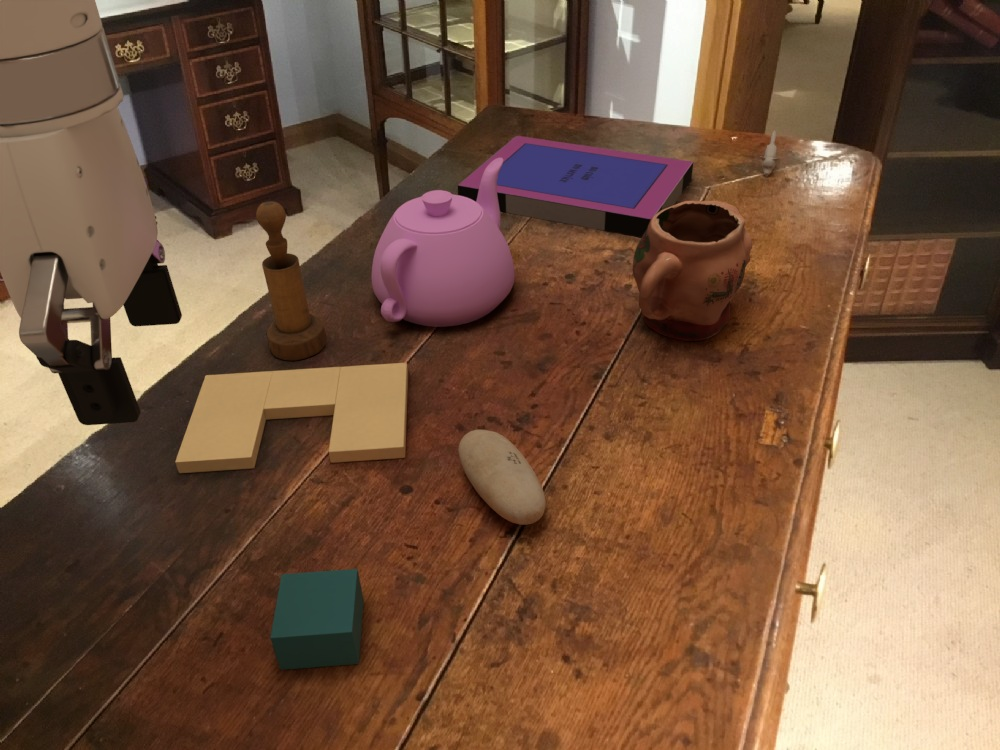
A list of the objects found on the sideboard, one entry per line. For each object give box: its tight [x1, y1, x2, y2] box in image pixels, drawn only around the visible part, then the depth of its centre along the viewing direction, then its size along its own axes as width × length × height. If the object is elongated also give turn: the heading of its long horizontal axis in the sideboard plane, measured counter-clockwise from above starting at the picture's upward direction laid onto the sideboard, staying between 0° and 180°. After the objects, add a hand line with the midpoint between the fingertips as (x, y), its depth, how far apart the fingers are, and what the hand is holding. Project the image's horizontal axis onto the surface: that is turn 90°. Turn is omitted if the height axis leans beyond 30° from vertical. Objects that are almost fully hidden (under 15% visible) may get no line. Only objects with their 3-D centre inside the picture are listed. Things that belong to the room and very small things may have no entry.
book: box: [457, 135, 694, 238], centre depth 130 cm, size 21×3×30 cm
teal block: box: [269, 568, 365, 671], centre depth 66 cm, size 6×6×4 cm
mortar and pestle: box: [255, 200, 327, 361], centre depth 94 cm, size 7×6×18 cm
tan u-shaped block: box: [174, 362, 409, 474], centre depth 88 cm, size 22×14×2 cm, turn 94°
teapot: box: [371, 158, 516, 328], centre depth 104 cm, size 25×18×14 cm
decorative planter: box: [632, 200, 753, 342], centre depth 96 cm, size 20×12×14 cm, turn 147°
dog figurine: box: [758, 130, 781, 178], centre depth 134 cm, size 3×8×6 cm
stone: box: [458, 429, 547, 526], centre depth 78 cm, size 6×6×12 cm
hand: (136, 367), depth 51 cm, fingers open, 9 cm apart
